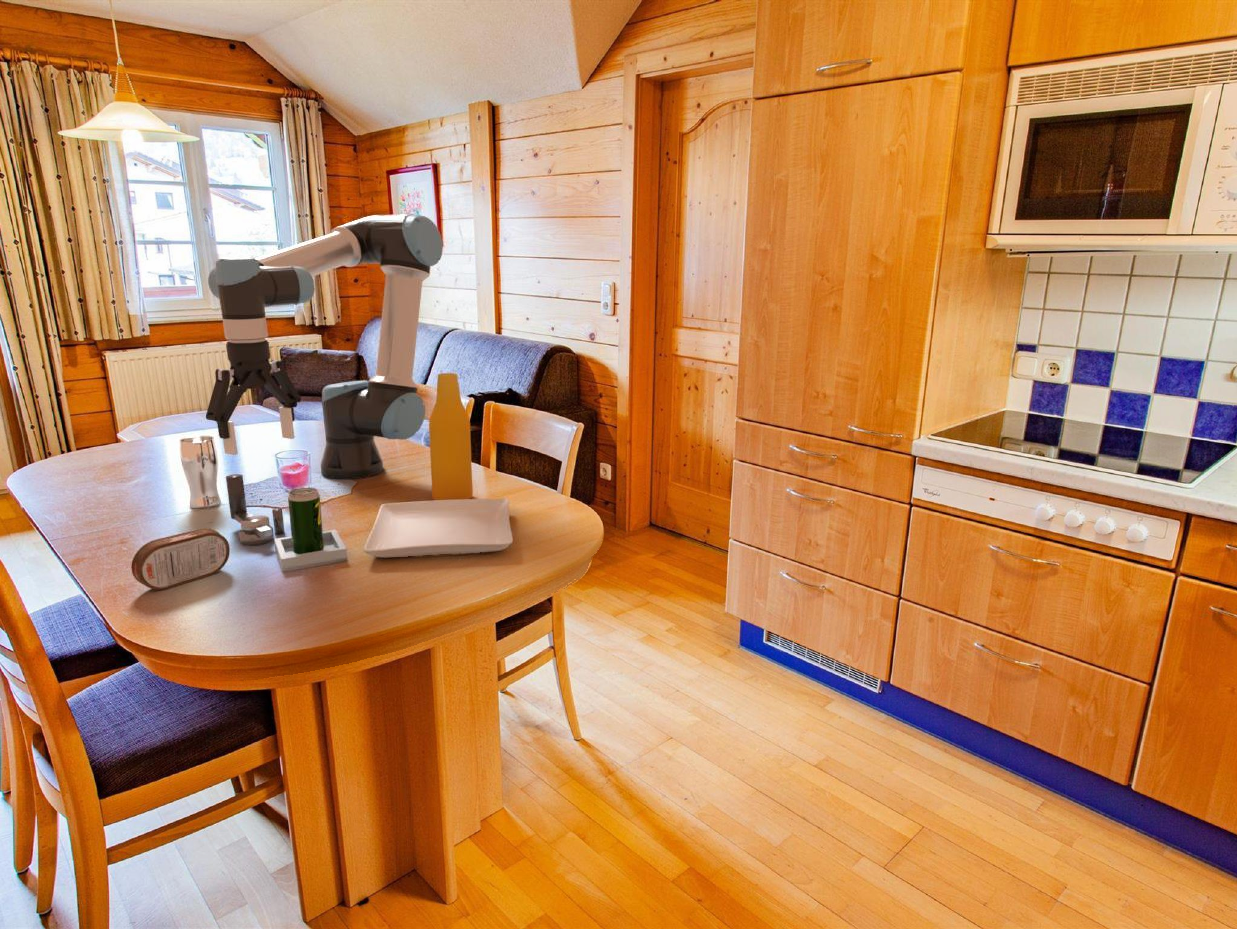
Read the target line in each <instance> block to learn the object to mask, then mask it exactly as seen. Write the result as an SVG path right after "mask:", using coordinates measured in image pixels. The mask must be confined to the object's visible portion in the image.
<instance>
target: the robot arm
mask: <svg viewBox="0 0 1237 929" xmlns="http://www.w3.org/2000/svg"><path fill="white" fill-rule="evenodd" d="M443 246H444V245H443V239H442V235H441V233H440V231H439V228H438V226H437V225H436V224H435V223H434V221H432V220H431V219H430V218H429V217H428V216H425V215H417V214H412V213H408V214H375V215H374V214H373V215H369V216H365V217H362V218H359V219H356V220H352V221H351V222H347V223H345V224H342V225H338V226H336V227H333V228H332V229H331V231H329V233H328V234H326V235H322V236H319V237H316V238H314V239H310V240H308V241H304V242H302V243H301V242H300V243H299V244H298V243H297V244H295V245H293V246H292V245H291V246H290V247H286V248H283V249H280V250H277V251H274V252H271V253H267V254H264V255H261V256H259V257H256V258H255V257H219V258H218V259H217V260H216V262H215V266H214V267H213V268H212V269H211V270H210V272H209V274H208V278H207V279H208V280H207V283H208V287H209V288H208V289H209V290H210V292H211V293H212V294H213V296H214V297H215V298H217V299H218V300H219V305H220V311H221V318H222V325H223V332H224V338H225V339H226V340H227V342H226V344H225V347H226V348H225V349H226V354H227V355H226V356H227V360H228V361H229V363H230V367H229V368H230V369H222V368H217V369H215V372H214V374H215V375H214V376H215V383H214V386H213V389H212V392H211V397H210V399H209V403H208V407H207V410H206V414H205V419H206V420H207V421H213V422H216V424H217V430H218V432H217V433H218V437H219V438H220V439H222V441H223V442H222V443H223V450H224V454H227V455H232V456H237V455H238V453H239V452H238V447H237V446H238V445H237V440H236V430H235V426H234V424H235V423H234V421H232V420H230V419H231V417H232V415H233V414H234V412H235V410H236V407H237V406H238V404H239V402H240V400H241V398H242V396H243V395H244V394H245V393H247V390H252V389H255V388H262V387H263V388H265V389H266V391H267V392H268V393H269V394H271V395H272V396H273V398H275V400H277V402H278V403H279V404H281V406H279V407H278V410H279V412H278V413H279V421H280V428H281V434H282V435H281V437H282V439H283V438H284V439H289V440H293V439H295V437H296V436H295V431H294V429H295V428H294V423H293V422H295V411H294V408H297V406H298V403H301V401H302V396H300V394H299V392H298V391H297V388H296V387H295V386H294V384H293V381H292V380H291V378H290V376H289V375H288V373H287V371H286V368H285V364H284V361H283V360H278V359H277V360H276V359H271V360H270V358H271V350H270V342H269V341H268V339H266V338H268V337H269V333H268V325H267V320H266V310H265V308H267V307H275V306H277V307H278V306H279V307H280V306H289V305H295V306H297V305H299V304H306V303H308V302H309V301H311V300H312V299H313V297H314V294H315V290H316V288H315V281H314V278H313V277H316V276H319V275H320V274H323V273H327V272H329V271H332V270H335V269H337V268H340V267H342V266H343V267H344V266H345V267H347V268H353V267H356V266H358V265H364V264H378V265H379V264H380V265H379V267H380V270H381V271H382V272H383V274H384V275H385V282H384V292H383V301H382V309H381V310H382V312H381V321H380V331H379V332H380V333H379V340H378V351H377V361H376V368H375V369H376V371H375V375H374V376H372V377H371V378H370V379H369V380H354V381H345V382H339V383H332V384H328V385H326V386H324V387H323V389H322V391H321V397H322V399H321V407H322V415H323V424H324V434H325V447H324V450H323V454H322V459H321V462H320V470H321V471H320V472H321V475H322V476H324V477H327V478H330V479H339V480H343V479H345V480H349V479H350V480H351V479H359V478H360V479H361V478H366V477H367V478H368V477H371V476H374V475H377V474H379V473H381V472H383V470H384V462H383V458H382V456H381V454H380V451H379V449H378V447H377V444H376V442H375V437H378V438H386V439H388V440H401V441H402V440H407V439H408V440H409V439H410V438H412V437H414V435H416V434H417V432H419V430H420V429H421V428H422V427H423V424H424V422H425V417H426V404H425V403H424V399H423V398H422V397H421V396H420V395H419V394H418V385H417V384H416V383H415V381H414V379H413V374H414V365H415V357H416V348H417V347H416V346H417V337H418V329H419V328H418V327H419V326H418V325H419V317H420V308H421V299H422V298H421V297H422V288H423V282H424V281H425V280H426V279H428V278H429V277H430V275H431V274H430V273H431V267H433V266H435V265H437V264H438V263H439V262H440V260H441V258H442V256H443V250H444V248H443ZM271 372H272V374H273V376H274V377H275V379H274V378H273V377H272V376H271V375H270V374H271ZM231 380H232V381H231ZM275 380H276V381H277V382H276V381H275ZM277 383H278V384H277Z"/></svg>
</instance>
